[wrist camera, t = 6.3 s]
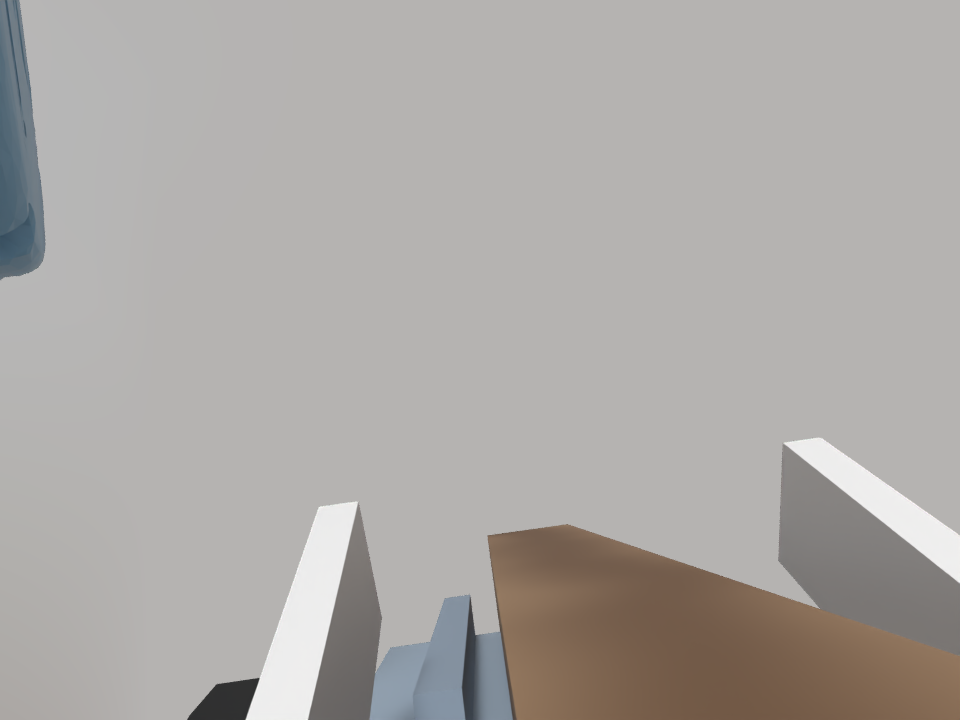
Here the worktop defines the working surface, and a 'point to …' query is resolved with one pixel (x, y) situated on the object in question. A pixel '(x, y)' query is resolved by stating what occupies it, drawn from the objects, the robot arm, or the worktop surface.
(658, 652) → the brown block
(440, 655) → the tall blue prism
